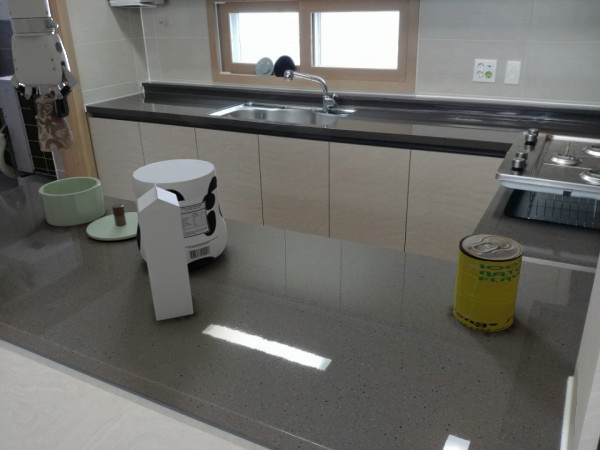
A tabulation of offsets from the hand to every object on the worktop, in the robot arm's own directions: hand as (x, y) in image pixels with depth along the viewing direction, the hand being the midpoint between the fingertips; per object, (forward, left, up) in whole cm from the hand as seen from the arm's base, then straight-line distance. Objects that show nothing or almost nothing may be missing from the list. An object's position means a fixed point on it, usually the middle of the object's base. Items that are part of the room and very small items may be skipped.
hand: (51, 115), depth 116 cm
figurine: (0, 0, -7) cm, 7 cm away
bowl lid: (+13, -3, -24) cm, 28 cm away
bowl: (-2, +5, -25) cm, 25 cm away
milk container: (+32, -16, -25) cm, 44 cm away
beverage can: (+86, -34, -25) cm, 96 cm away
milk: (+36, -35, -25) cm, 57 cm away
